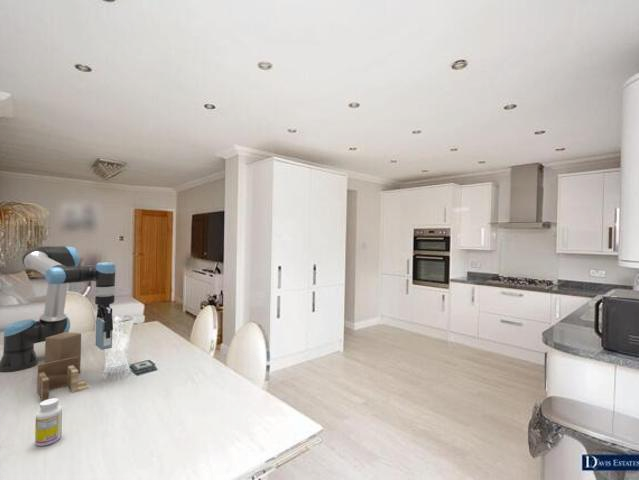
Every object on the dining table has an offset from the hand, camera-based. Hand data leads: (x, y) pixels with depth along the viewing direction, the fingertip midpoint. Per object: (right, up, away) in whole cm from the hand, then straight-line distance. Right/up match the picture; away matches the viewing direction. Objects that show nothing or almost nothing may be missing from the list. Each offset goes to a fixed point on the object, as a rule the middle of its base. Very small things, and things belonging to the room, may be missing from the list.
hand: (103, 342), depth 147 cm
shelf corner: (-12, -18, -10) cm, 24 cm away
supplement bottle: (+12, -18, -44) cm, 49 cm away
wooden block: (-25, -19, +6) cm, 32 cm away
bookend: (-8, -19, -5) cm, 21 cm away
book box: (0, -2, 0) cm, 2 cm away
